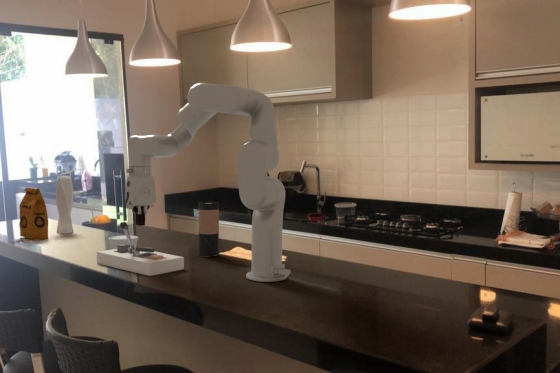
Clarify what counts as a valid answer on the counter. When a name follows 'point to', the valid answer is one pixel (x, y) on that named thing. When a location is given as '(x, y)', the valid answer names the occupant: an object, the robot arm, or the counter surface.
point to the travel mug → (208, 228)
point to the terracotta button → (156, 257)
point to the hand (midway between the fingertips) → (140, 225)
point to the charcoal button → (123, 248)
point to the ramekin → (121, 241)
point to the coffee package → (33, 215)
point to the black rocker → (144, 249)
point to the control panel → (140, 261)
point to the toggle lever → (127, 235)
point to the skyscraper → (64, 203)
